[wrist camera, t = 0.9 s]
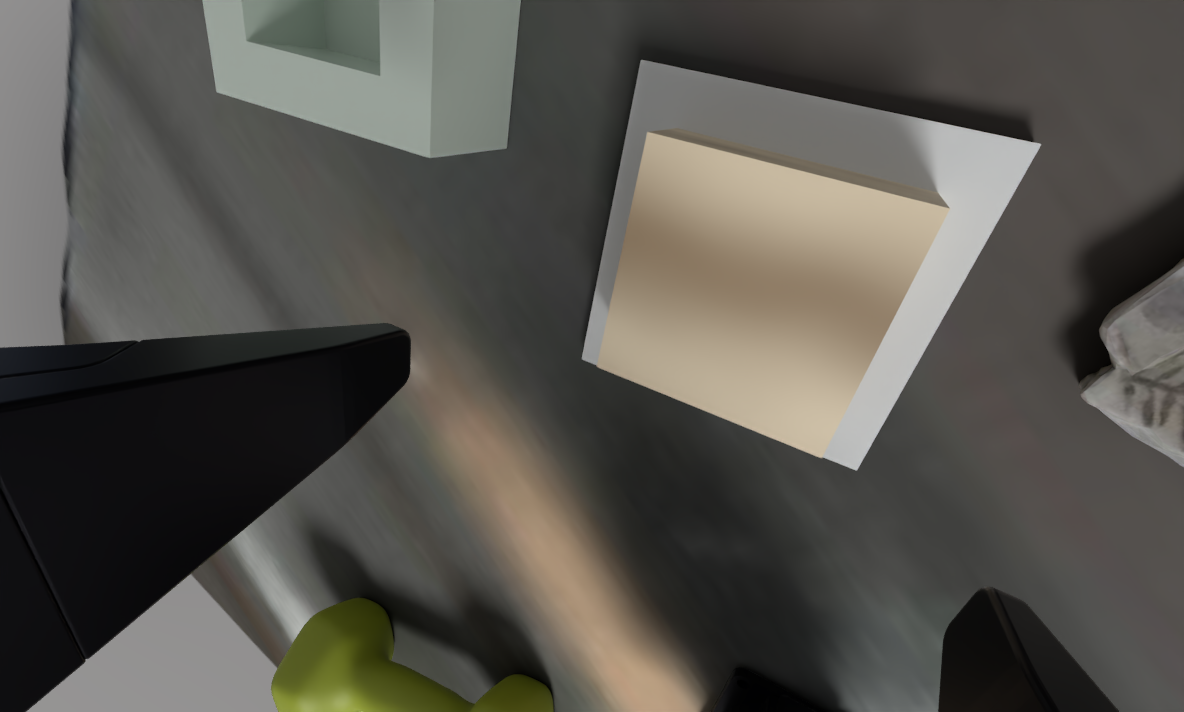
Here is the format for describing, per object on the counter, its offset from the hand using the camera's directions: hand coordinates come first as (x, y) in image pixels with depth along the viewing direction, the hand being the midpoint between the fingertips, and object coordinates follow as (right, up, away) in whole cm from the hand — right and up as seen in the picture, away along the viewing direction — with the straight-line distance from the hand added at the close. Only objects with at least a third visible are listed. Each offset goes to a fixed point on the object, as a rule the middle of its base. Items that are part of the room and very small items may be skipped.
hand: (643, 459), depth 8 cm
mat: (+4, +4, +9) cm, 11 cm away
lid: (+4, +4, +8) cm, 10 cm away
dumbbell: (-10, -18, +27) cm, 33 cm away
